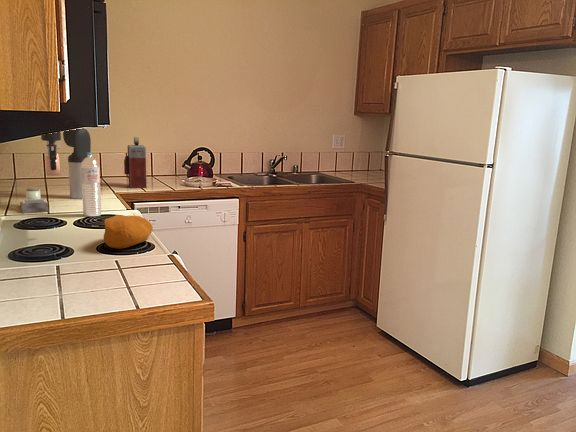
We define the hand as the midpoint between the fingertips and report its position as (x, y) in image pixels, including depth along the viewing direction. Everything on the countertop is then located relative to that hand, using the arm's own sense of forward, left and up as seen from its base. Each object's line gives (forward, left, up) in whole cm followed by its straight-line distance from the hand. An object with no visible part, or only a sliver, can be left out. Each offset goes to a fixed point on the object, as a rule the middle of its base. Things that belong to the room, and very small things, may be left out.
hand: (53, 169), depth 212 cm
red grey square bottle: (-32, -60, -16) cm, 70 cm away
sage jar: (+7, +6, -16) cm, 19 cm away
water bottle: (-17, +22, -16) cm, 33 cm away
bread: (-33, +70, -17) cm, 79 cm away
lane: (+8, +4, -16) cm, 18 cm away
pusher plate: (+6, +10, -16) cm, 20 cm away
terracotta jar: (0, 0, -3) cm, 3 cm away
